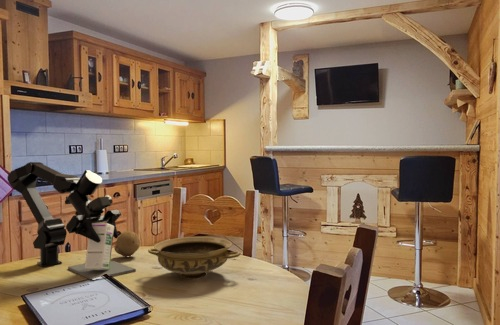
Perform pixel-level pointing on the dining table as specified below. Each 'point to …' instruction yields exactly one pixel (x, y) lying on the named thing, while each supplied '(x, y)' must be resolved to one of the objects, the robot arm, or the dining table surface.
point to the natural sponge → (127, 243)
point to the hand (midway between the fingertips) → (108, 239)
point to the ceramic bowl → (193, 255)
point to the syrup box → (100, 247)
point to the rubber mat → (113, 271)
